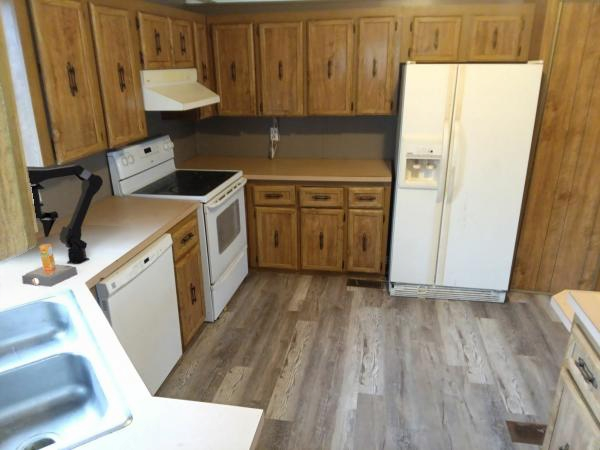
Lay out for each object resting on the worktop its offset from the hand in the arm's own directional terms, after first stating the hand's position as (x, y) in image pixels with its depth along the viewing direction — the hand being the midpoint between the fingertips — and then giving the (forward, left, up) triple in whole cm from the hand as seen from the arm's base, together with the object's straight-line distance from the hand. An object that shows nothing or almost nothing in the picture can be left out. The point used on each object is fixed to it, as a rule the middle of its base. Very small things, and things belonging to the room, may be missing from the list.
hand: (37, 239), depth 179 cm
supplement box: (+7, +11, -10) cm, 16 cm away
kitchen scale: (+7, +11, -13) cm, 18 cm away
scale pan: (+7, +11, -10) cm, 16 cm away
